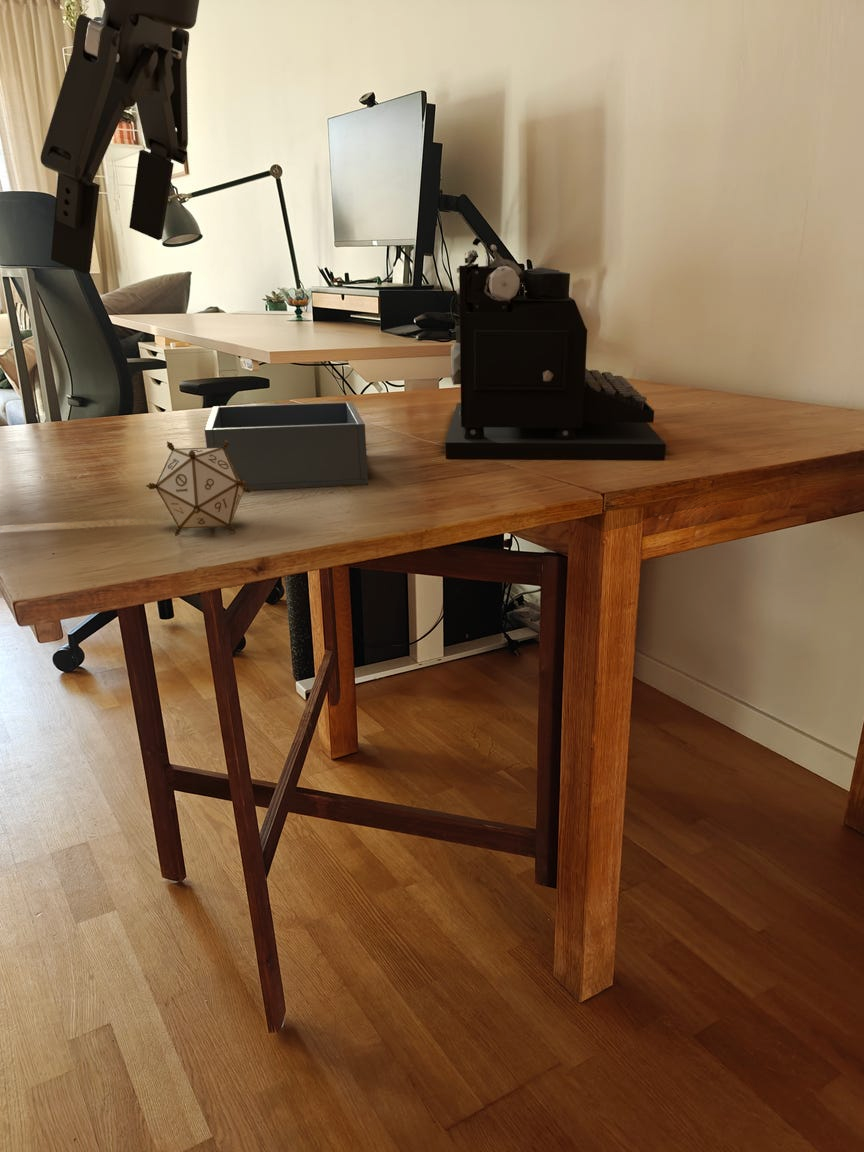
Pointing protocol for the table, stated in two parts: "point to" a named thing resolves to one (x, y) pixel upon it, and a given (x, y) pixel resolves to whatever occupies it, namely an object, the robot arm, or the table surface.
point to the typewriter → (536, 375)
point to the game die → (200, 487)
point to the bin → (292, 444)
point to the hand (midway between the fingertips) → (110, 248)
